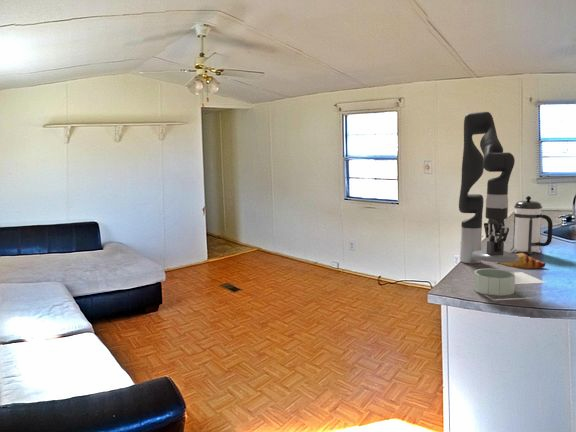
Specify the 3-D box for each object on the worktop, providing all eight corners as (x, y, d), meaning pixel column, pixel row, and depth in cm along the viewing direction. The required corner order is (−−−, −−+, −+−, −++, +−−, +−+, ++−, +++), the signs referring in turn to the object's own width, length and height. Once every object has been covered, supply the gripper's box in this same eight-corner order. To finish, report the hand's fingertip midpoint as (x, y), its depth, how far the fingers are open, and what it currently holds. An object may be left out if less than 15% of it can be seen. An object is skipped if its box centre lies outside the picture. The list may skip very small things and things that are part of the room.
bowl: (467, 286, 173) (467, 269, 172) (500, 284, 174) (501, 267, 173) (485, 297, 160) (486, 279, 159) (522, 295, 161) (522, 277, 160)
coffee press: (512, 255, 223) (515, 197, 218) (508, 249, 238) (510, 194, 233) (551, 257, 217) (554, 197, 213) (543, 250, 232) (546, 194, 228)
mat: (486, 275, 188) (486, 273, 188) (521, 273, 190) (521, 272, 190) (508, 285, 173) (508, 284, 172) (546, 283, 174) (546, 282, 174)
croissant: (493, 271, 207) (491, 258, 203) (498, 258, 213) (496, 245, 209) (543, 277, 193) (542, 264, 189) (547, 263, 199) (546, 249, 196)
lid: (464, 253, 173) (464, 238, 172) (502, 252, 174) (503, 237, 173) (485, 263, 157) (486, 246, 156) (527, 261, 158) (528, 244, 157)
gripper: (477, 204, 169) (476, 247, 172) (497, 208, 155) (495, 255, 158) (495, 203, 170) (494, 246, 172) (517, 207, 156) (515, 254, 158)
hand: (495, 250), depth 165 cm, fingers closed on lid, 3 cm apart
